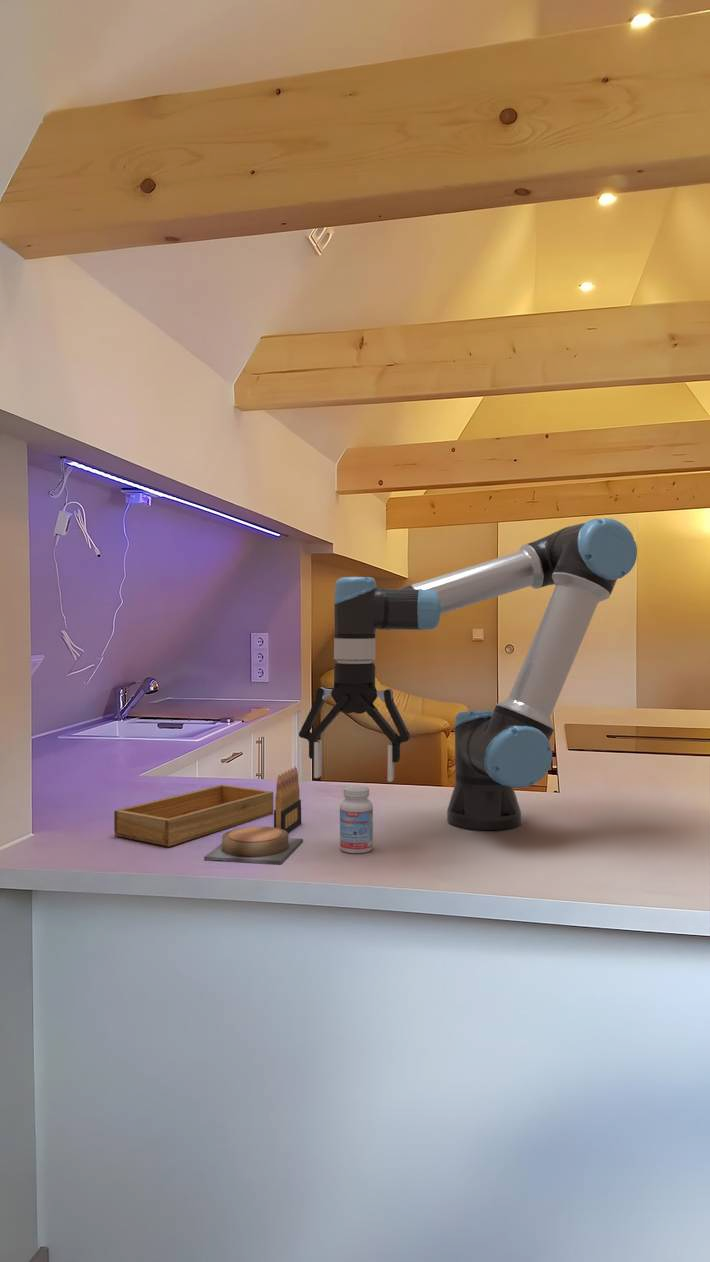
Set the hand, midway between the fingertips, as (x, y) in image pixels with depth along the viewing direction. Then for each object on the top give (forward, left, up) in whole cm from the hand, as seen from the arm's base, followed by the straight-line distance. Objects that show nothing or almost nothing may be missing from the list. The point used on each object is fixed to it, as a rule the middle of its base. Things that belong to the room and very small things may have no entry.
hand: (353, 778), depth 142 cm
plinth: (+18, +4, -13) cm, 22 cm away
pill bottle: (0, 0, -13) cm, 13 cm away
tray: (+35, -12, -14) cm, 40 cm away
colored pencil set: (+16, -11, -13) cm, 23 cm away
